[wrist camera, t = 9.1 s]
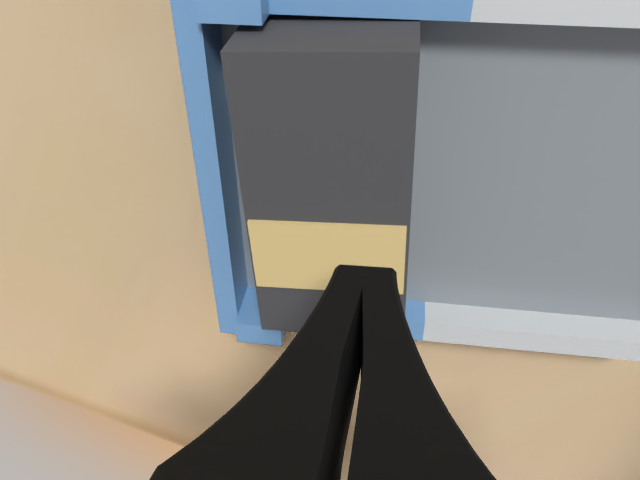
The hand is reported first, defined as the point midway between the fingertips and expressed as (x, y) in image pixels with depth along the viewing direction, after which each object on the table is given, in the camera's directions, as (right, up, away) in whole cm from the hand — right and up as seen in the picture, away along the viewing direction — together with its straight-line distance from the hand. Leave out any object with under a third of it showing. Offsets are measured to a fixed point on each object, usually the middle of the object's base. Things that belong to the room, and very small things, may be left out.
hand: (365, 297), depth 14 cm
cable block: (0, +4, +6) cm, 8 cm away
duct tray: (+3, +4, +7) cm, 9 cm away
